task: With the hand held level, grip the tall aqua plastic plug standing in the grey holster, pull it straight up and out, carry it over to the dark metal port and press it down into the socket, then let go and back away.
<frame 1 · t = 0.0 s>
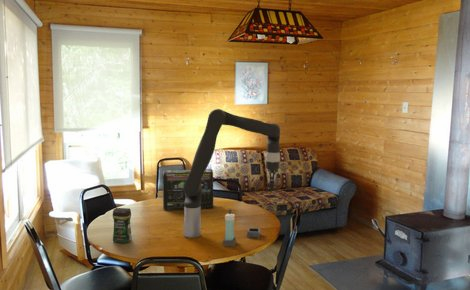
hand: (272, 189, 231), 29 cm above the table, tool pointing down, fingers open, 8 cm apart
plug: (229, 226, 226), in the holster
router box: (188, 208, 296), on the table
coffee jar: (122, 241, 230), on the table
port: (253, 235, 241), on the table
holster: (229, 244, 227), on the table
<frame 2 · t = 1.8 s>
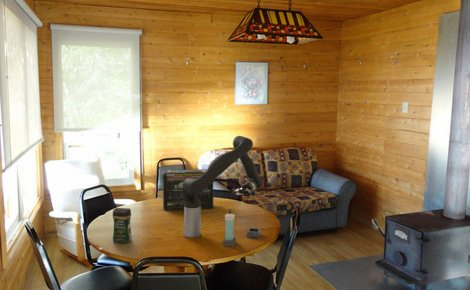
hand: (240, 194, 241), 23 cm above the table, tool horizontal, fingers open, 8 cm apart
nothing on the table moved.
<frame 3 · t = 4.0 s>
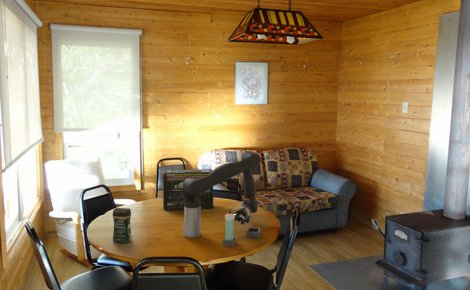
hand: (234, 222, 233), 10 cm above the table, tool horizontal, fingers open, 8 cm apart
nothing on the table moved.
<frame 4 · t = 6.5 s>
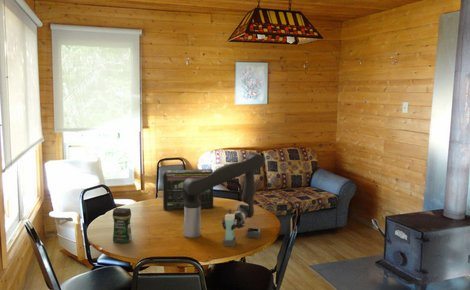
hand: (228, 227, 223), 10 cm above the table, tool horizontal, fingers closed on plug, 3 cm apart
plug: (229, 226, 226), in the holster, touching gripper
everything else where it was.
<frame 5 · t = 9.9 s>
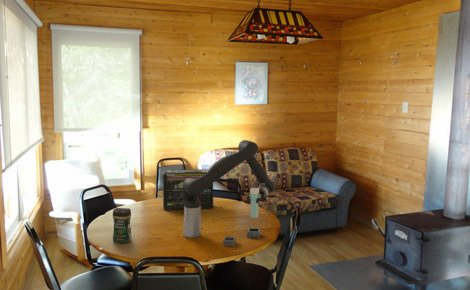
hand: (253, 201, 235), 21 cm above the table, tool horizontal, fingers closed on plug, 3 cm apart
plug: (254, 200, 238), point 21 cm above the table, touching gripper
everything else where it was.
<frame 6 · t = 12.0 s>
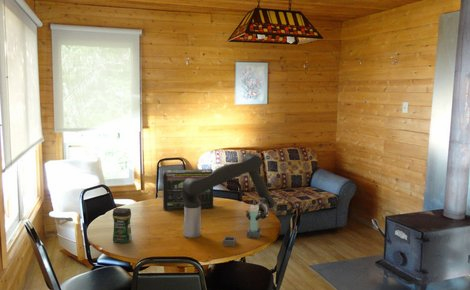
hand: (252, 218, 236), 11 cm above the table, tool horizontal, fingers closed on plug, 3 cm apart
plug: (254, 217, 239), point 11 cm above the table, touching gripper
everything else where it was.
when the fingers open (11 cm above the table, at t = 13.4 s): plug stays where it is, resting on port.
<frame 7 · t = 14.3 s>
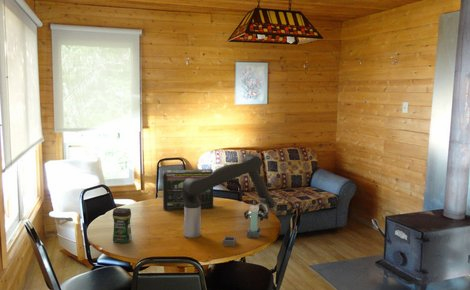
hand: (253, 218, 238), 11 cm above the table, tool horizontal, fingers open, 8 cm apart
plug: (254, 217, 239), in the port, point 11 cm above the table
everything else where it was.
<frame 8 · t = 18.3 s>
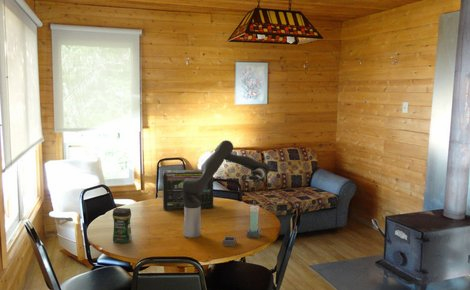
hand: (250, 180, 248), 30 cm above the table, tool horizontal, fingers open, 8 cm apart
nothing on the table moved.
at the end: plug 0.1 cm off-centre on the port, point 10.9 cm above the port's base; plug tilted 0°; the gripper is holding nothing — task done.
